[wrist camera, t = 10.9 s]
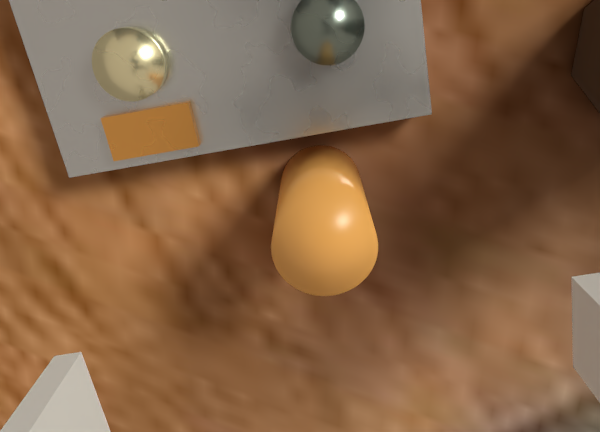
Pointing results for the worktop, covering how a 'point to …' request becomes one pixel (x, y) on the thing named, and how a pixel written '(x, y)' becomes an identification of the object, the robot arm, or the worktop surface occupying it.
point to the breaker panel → (217, 73)
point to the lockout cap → (323, 224)
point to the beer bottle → (589, 54)
